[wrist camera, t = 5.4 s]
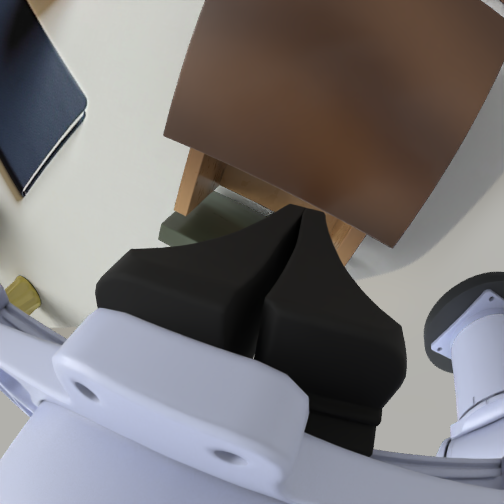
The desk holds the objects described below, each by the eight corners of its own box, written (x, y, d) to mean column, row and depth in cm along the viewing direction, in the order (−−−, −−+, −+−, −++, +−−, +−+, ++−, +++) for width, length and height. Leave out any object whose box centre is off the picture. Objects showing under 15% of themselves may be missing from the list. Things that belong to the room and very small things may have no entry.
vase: (40, 311, 44) (-12, 368, 33) (17, 287, 44) (-36, 340, 32) (42, 294, 41) (-18, 356, 29) (17, 268, 40) (-43, 325, 29)
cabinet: (384, 189, 19) (392, 249, 13) (223, 110, 19) (162, 136, 13) (465, 38, 12) (518, 29, 6) (286, -44, 12) (245, -92, 7)
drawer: (303, 302, 24) (285, 358, 20) (187, 243, 25) (148, 287, 20) (408, 134, 16) (427, 162, 11) (248, 58, 16) (205, 58, 12)
